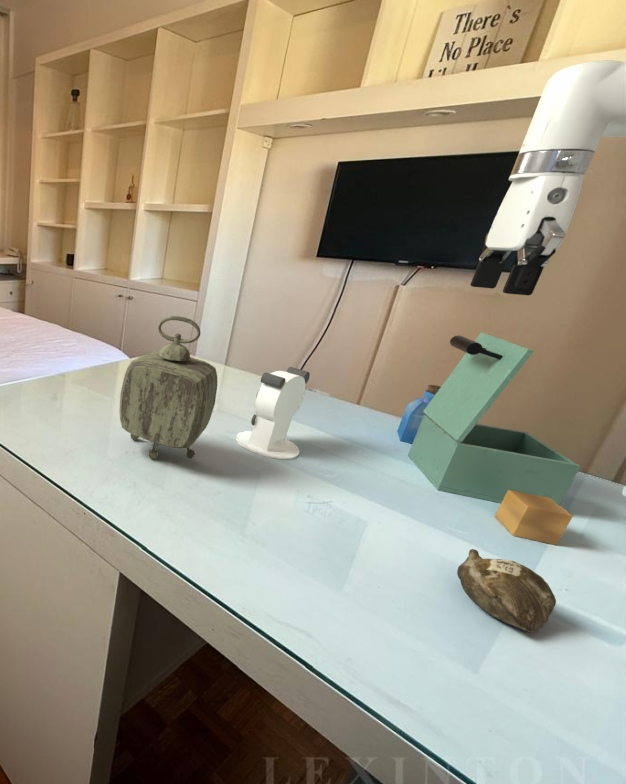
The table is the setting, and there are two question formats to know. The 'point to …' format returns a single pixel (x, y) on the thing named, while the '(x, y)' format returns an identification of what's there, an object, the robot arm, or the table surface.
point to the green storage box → (491, 462)
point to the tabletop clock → (168, 395)
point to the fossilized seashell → (507, 591)
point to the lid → (475, 382)
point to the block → (533, 517)
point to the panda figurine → (275, 414)
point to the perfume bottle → (415, 415)
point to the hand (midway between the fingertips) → (498, 290)
